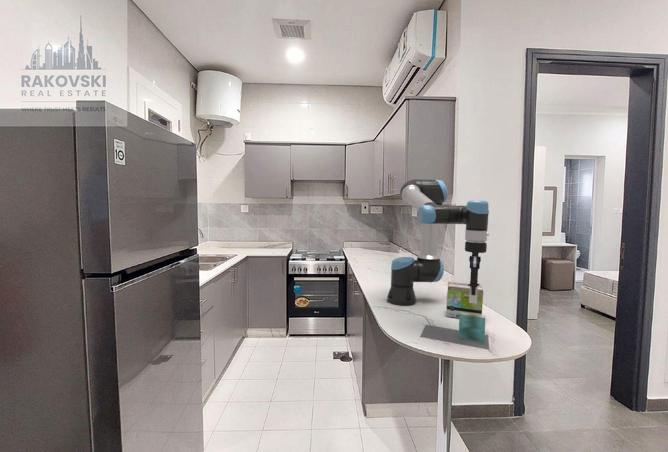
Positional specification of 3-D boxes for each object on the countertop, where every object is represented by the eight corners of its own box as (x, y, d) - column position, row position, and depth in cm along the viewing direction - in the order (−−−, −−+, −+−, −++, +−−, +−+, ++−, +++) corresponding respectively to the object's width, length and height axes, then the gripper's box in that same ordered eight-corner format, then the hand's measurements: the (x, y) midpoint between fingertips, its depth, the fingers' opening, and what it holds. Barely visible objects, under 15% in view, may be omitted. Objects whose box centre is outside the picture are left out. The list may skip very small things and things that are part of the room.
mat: (419, 338, 122) (420, 336, 122) (425, 325, 135) (425, 324, 135) (489, 351, 112) (489, 349, 112) (488, 336, 125) (488, 335, 125)
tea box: (446, 317, 146) (447, 285, 145) (446, 310, 156) (447, 281, 155) (482, 322, 141) (483, 289, 140) (480, 314, 150) (481, 284, 149)
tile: (458, 337, 123) (459, 314, 122) (458, 334, 125) (459, 311, 125) (484, 341, 119) (485, 318, 118) (484, 338, 122) (485, 315, 121)
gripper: (487, 244, 112) (483, 309, 114) (486, 240, 124) (483, 299, 126) (464, 242, 116) (461, 306, 117) (465, 239, 127) (463, 296, 129)
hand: (472, 302), depth 122 cm, fingers closed
